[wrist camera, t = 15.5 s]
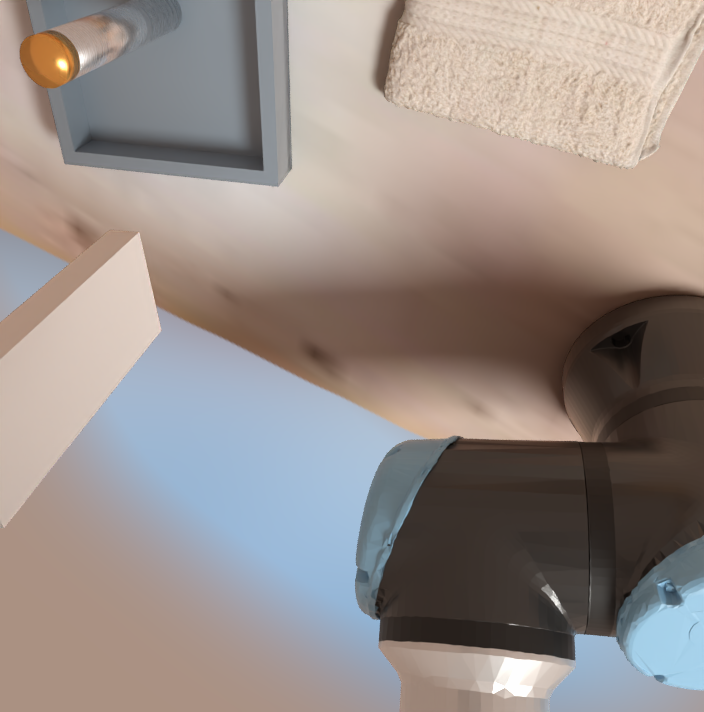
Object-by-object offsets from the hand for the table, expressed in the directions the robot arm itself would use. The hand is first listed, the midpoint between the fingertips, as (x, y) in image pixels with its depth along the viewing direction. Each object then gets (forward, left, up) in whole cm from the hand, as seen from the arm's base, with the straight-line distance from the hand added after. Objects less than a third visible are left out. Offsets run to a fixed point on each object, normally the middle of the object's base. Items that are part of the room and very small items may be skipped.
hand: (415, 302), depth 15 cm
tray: (0, +20, -33) cm, 38 cm away
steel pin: (0, +20, -32) cm, 37 cm away
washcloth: (0, -4, -33) cm, 34 cm away
